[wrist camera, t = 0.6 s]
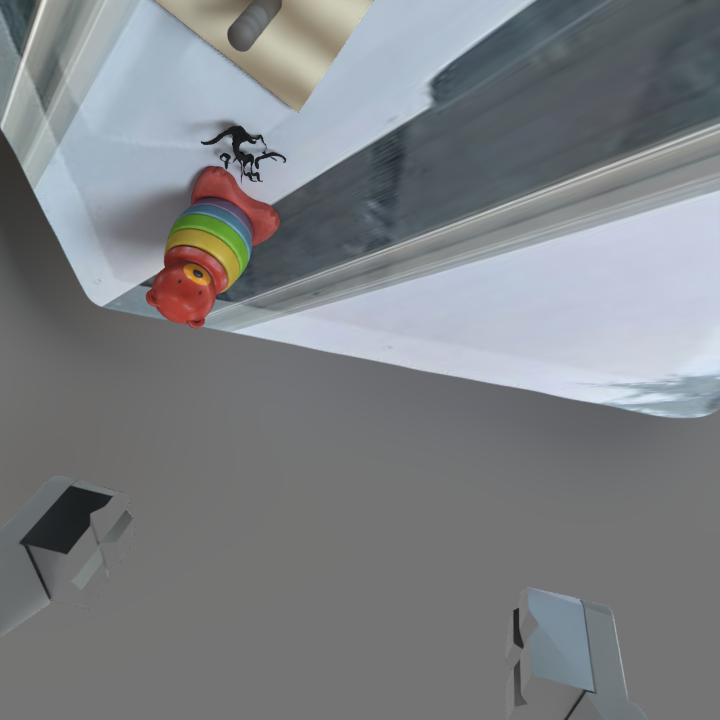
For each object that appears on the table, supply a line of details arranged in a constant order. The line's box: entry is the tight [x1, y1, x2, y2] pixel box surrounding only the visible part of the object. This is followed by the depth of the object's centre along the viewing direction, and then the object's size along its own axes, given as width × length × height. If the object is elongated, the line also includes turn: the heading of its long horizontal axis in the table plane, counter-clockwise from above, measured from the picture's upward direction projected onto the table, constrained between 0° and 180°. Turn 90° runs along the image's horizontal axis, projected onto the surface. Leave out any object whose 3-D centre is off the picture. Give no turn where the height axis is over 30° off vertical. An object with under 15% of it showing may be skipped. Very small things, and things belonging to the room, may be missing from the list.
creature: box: [201, 126, 286, 183], centre depth 59 cm, size 8×5×8 cm
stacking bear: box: [146, 166, 280, 328], centre depth 62 cm, size 11×10×18 cm
